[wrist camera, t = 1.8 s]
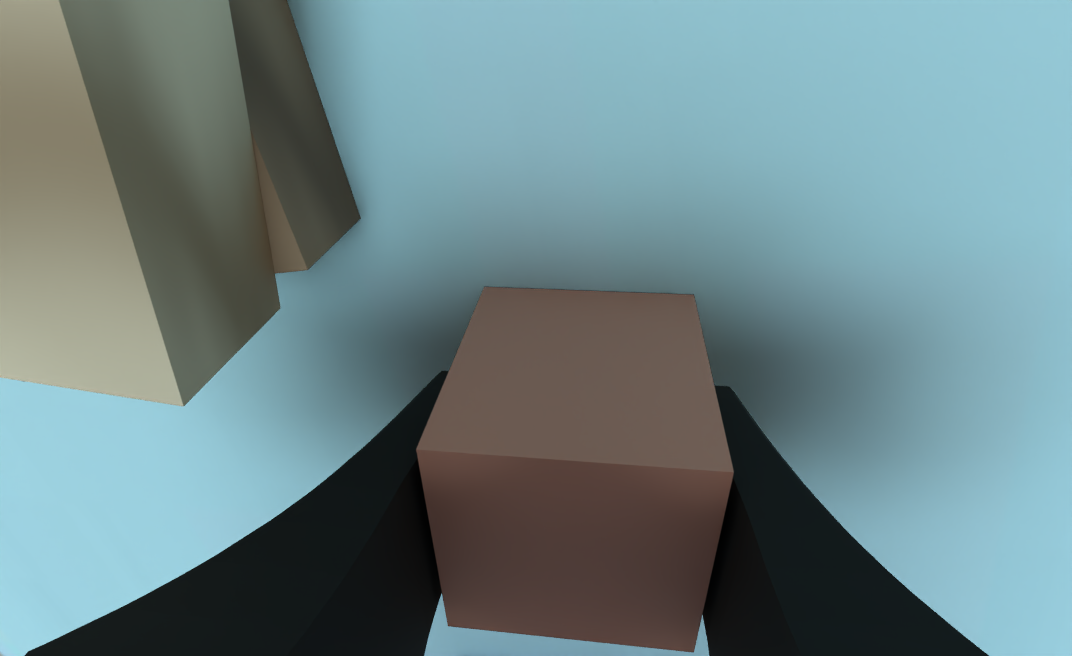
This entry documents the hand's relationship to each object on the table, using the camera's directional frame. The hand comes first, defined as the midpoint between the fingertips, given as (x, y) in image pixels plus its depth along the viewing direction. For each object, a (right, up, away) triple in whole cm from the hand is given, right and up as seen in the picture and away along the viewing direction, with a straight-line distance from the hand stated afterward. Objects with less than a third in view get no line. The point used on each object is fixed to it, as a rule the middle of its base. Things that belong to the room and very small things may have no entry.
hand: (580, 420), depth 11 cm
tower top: (-7, +5, -3) cm, 9 cm away
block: (0, +1, +1) cm, 1 cm away
